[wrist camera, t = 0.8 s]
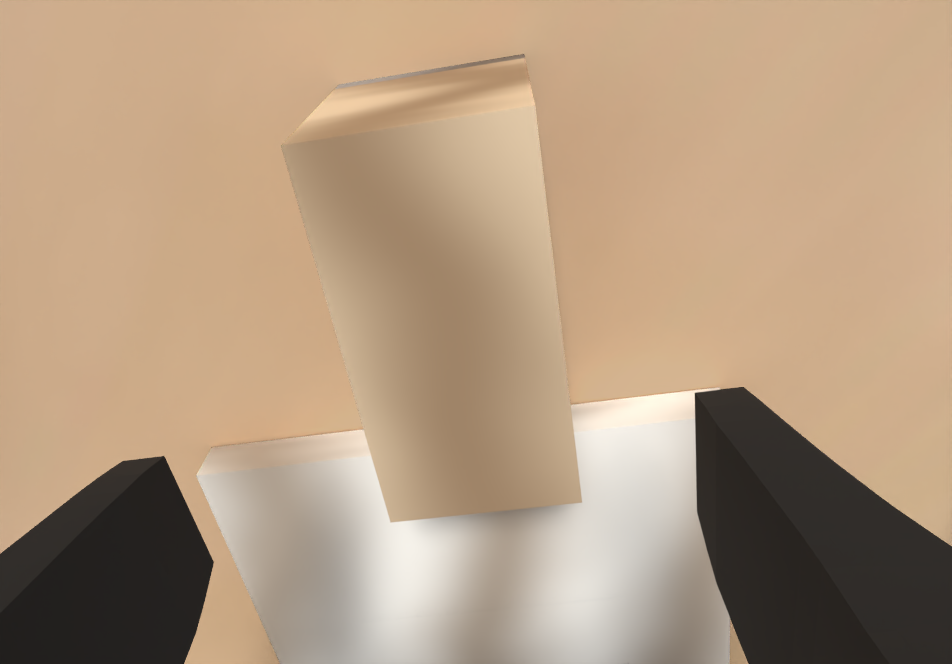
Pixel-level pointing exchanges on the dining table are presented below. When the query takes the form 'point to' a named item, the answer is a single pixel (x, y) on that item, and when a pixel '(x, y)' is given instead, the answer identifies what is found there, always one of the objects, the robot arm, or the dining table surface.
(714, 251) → the dining table surface
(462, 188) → the block
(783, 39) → the dining table surface
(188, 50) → the dining table surface
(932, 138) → the dining table surface
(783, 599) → the robot arm
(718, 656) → the board
